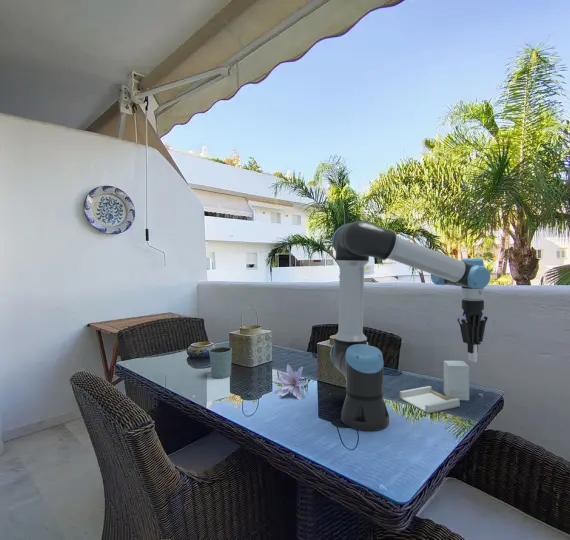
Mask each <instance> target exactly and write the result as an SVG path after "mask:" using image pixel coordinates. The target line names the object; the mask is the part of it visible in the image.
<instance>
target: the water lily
mask: <svg viewBox="0 0 570 540" xmlns="http://www.w3.org/2000/svg"><path fill="white" fill-rule="evenodd" d="M303 369H304V367H303V366H300V367H299V368H298V370H297V371H296V370H295V371H294V370H293V368H292V366H291V365H290V364H287V365H286V373H285V372H282V371H280V372H278V376H279V377H278V378H275V381H276V382H277V383H279V384H281V385H283V386H281V388H280V389H279V390H278V391H277V393H276V396H280V397H284V396H286V395H287V394H289V393H291V391H292V395H293V396H294V397H296V398H297V400H300V401H301V400H302V392H301V390H300V389H301V388H299V387H303V386H306V385H308V381H307V380H300V378H301V376H302V373H303Z"/></svg>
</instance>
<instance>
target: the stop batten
mask: <svg viewBox="0 0 570 540" xmlns="http://www.w3.org/2000/svg"><path fill="white" fill-rule="evenodd" d="M430 393H432V394H434V395H436V396H438V397H440V398H443V399H445V400H451V398H449V397H447V396H446V395H445V394H442V393H440V392H438V391H435V390H433V389H432V390H430Z"/></svg>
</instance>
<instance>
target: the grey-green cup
mask: <svg viewBox="0 0 570 540" xmlns="http://www.w3.org/2000/svg"><path fill="white" fill-rule="evenodd" d="M232 351H233V349H232V347H229V346H216V347H212V348H210V349H209V350H208V353H209V360H210V361H209V362H210V372H211V377H212V379H215V380H216V379H218V380H221V379H222V380H223V379H227V378H230V377H231V376H232V355H233V352H232Z"/></svg>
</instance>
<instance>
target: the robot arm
mask: <svg viewBox="0 0 570 540" xmlns="http://www.w3.org/2000/svg"><path fill="white" fill-rule="evenodd" d="M331 243H332V247H333V249H334V251H335V262H336V263H337V264H338V266H339V284H338V286H339V289H338V291H339V292H338V331H337V333H336V334H334V336H333V344H332V346H331V349H330V353H329V356H330V359H331V360H330V361H331V362H332V364H333V366H334V368H335V369H336V370H337V371H339V372H340V373H341V374H342V375H343V376H344V377H345V381H346V382H345V386H346V392H345V394H346V396H345V399H344V402H343V405H342V408H341V412H340V416H341V417H340V418H341V419H340V420H341V421H342V423H343V424H344V425H345V426H347V427H349V428H351V429H354V430H358V431H363V432H364V431H365V432H372V431H373V432H374V431H380V430H384V429H386V428H387V427H388V426H389V424H390V414H389V412H388V408H387V405H386V401H385V398H384V365H385V364H384V357H383V352H382V351H381V349H379V348H378V347H376V346H373V345H370V344H368V337H367V336H366V335H365V334H364V332H363V331H364V330H363V329H364V297H365V296H364V291H365V290H364V289H365V287H364V286H365V266H366V265H367V264H368V263H369V260H370V258H377V259H380V260H383V261H386V260H388V259H389V260H391V261H395V262H398V263H400V264H403V265H405V266H409V267H411V268H414V269H416V270H419V271H423V272H424V273H428V274H430V280H431V281H432V283H433V284H434V285H435V286H448V285H449V286H453V287H454V286H456V287H461V298H462V300H461V309H462V310H463V312H462V317H461V318H459V317H458V318H457V322H458V324H459V327H460V333H461V338H462V342H463V343H465V344H467V353H468V354H467V355H468V361H469V362H472V363H477V362H478V352H479V346H480V345H481V344H482V342H484V341H483V340H484V334H485V328H486V324H487V321H488V320H489V319H488V316H485V315H484V313H483V311H484V310H485V300H483V299H484V298H485V293H484V292H485V287H487V286H488V285H489V283H490V281H491V273H490V271H489V269H488V268H487V267H485V263H484V260H483V258H479V257H478V258H477V257H476V258H475V257H474V258H470V257H469V258H468V257H467V258H462V259H461V260H459V258H458V259H457V258H455V257H452V256H449V255H447V254H444V253H442V252H439V251H437V250H434V249H432V248H429V247H426V246H423V245H420V244H419V243H415V242H413V241H410V240H408V239H405V238H402V237H399V236H398V235H397V233H396V232H395V231H393V230H390V229H388V228H385V227H383V226H380V225H378V224H376V223H373V222H370V221H367V220H366V221H365V220H357V221H355V222H354V221H353V222H349V223H345V224H342V225H341V226H339V227H338V228H337V229H336V230H335V232H334V233H333V236H332V242H331Z"/></svg>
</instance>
